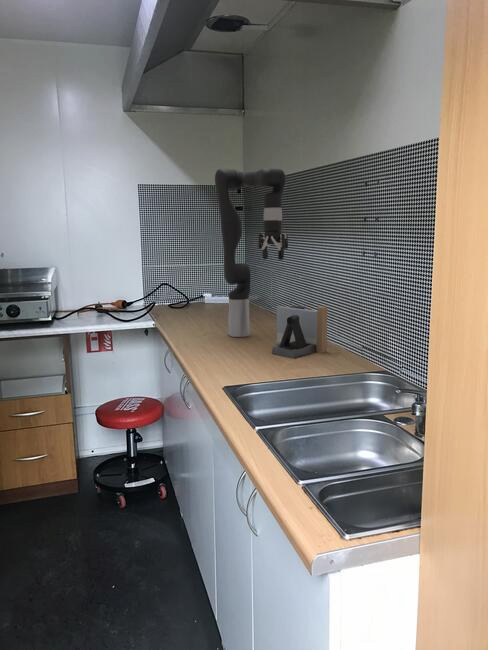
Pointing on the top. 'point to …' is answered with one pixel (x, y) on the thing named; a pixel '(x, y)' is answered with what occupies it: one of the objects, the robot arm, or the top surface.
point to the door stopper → (298, 334)
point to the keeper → (296, 352)
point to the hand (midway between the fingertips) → (273, 259)
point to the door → (305, 325)
